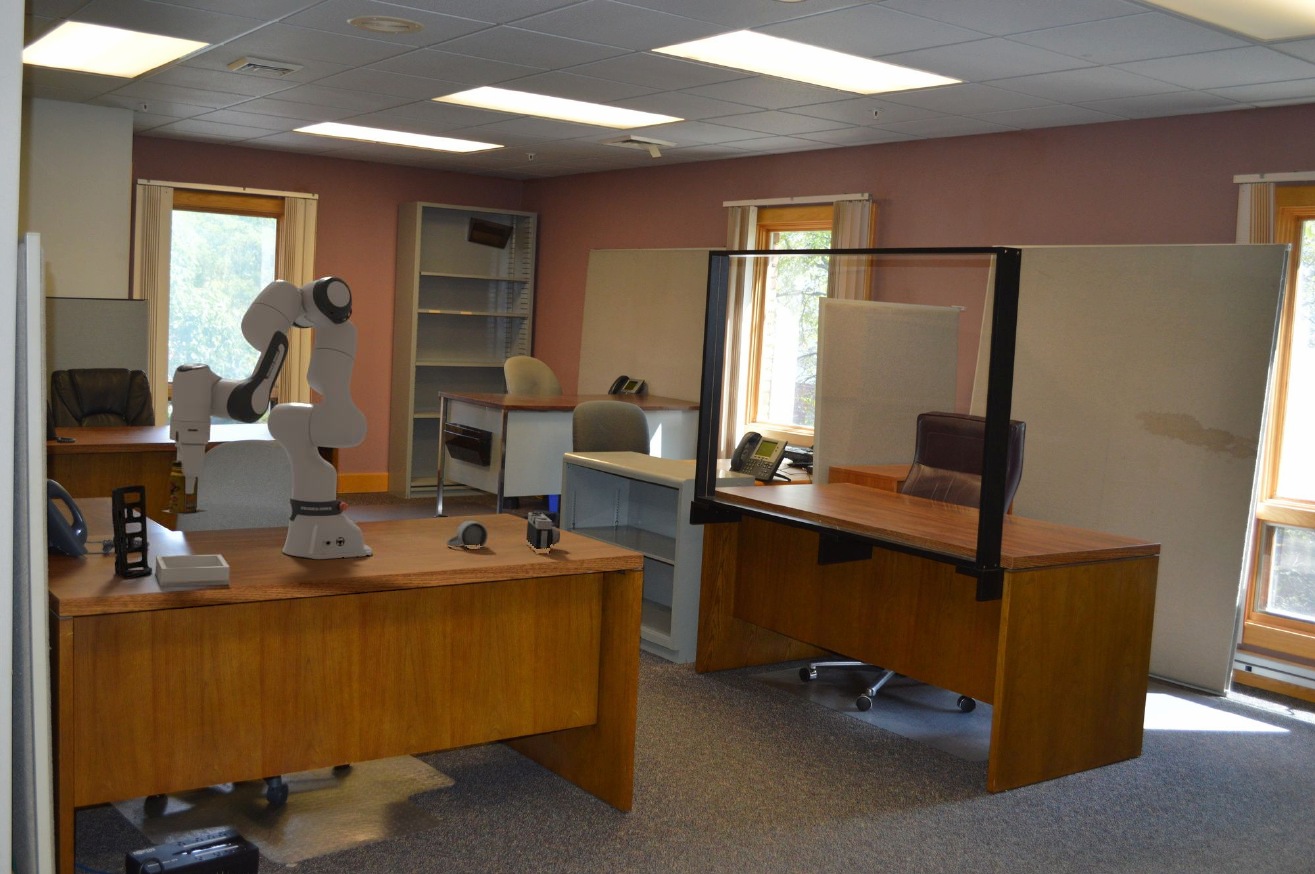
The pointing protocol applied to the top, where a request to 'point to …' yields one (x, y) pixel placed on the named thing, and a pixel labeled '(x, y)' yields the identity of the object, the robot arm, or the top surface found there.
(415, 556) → the top surface
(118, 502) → the holder
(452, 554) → the top surface
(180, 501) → the condiment
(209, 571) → the tray
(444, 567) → the top surface
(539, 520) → the camera
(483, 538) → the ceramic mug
